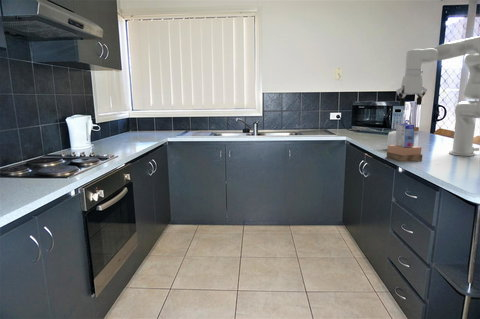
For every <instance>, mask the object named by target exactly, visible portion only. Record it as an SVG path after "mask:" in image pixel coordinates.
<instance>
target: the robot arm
mask: <svg viewBox="0 0 480 319" xmlns="http://www.w3.org/2000/svg"><path fill="white" fill-rule="evenodd" d="M463 56H464V64H465V65H466V68H468V71H469V75H468V78H467V82H466V85H465V87H464V92H463V97H464V98H466V99H468V100H465V101H463V100H462V101H460V102H458V103H457V104H456V105H455V108H454V116H455V124H454V135H453V144H452V150H449V152H448V154H449V155H454V156H463V157H473V156H475V155H476V154H475V152H479V151H480V147H474V146H473V144H474V136H475V130H476V123H475V120H474V119H480V36H474V37H469V38H464V39H459V40H455V41H451V42H447V43H442V44H439V45H436V46H431V47H428V48H423V49H422V48H413V49H408V50H407V52H406V58H405V71H404V75H403V76H402V80H401V86H400V87H399V88H398V89H396V94H397V96H398V98H399V106H405V104H406V98H405V97H406V96H407V95H416V96H417V98H416V102H415V104H416V106H417V105H418V106H420V105H421V106H422V103H423V102H422V100H423V98H424V96H425V95H426V93H427V90H428V89H427V88H425V86H423V76H422V74H423V70H422V65H425V64H431V63H434V62H436V61H445V60H449V59H453V58H457V57H463ZM477 100H478V101H477Z"/></svg>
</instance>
